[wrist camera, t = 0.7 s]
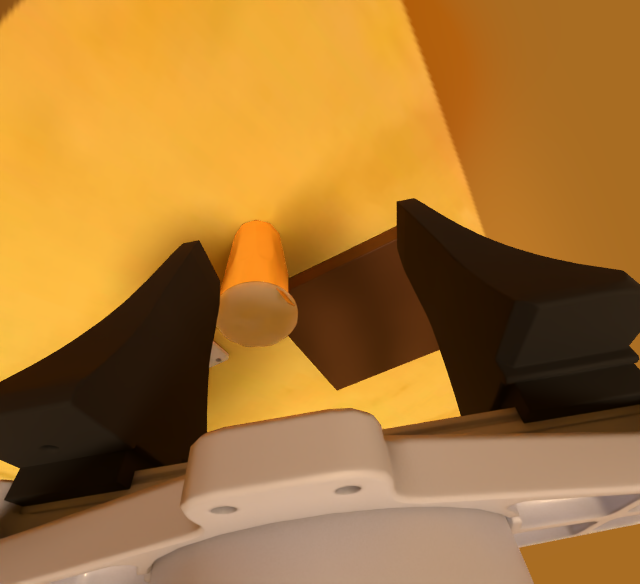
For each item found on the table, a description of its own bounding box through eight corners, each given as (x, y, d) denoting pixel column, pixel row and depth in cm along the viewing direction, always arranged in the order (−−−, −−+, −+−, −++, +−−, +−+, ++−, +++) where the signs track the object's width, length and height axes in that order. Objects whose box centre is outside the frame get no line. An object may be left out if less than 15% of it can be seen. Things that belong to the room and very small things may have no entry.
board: (334, 379, 37) (336, 390, 36) (259, 292, 28) (259, 304, 27) (447, 333, 34) (453, 344, 33) (407, 220, 25) (414, 230, 24)
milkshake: (307, 224, 24) (329, 322, 17) (267, 273, 27) (269, 379, 19) (253, 189, 22) (249, 283, 14) (214, 246, 24) (192, 353, 17)
